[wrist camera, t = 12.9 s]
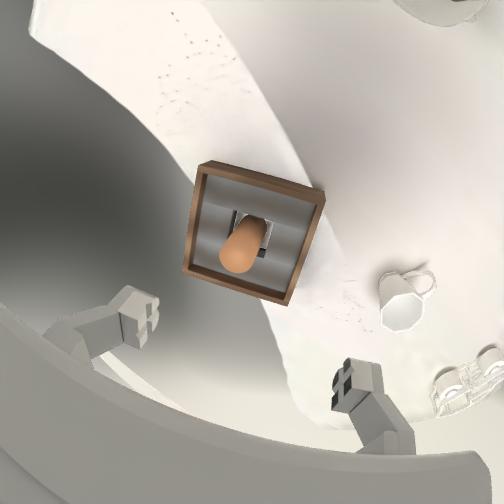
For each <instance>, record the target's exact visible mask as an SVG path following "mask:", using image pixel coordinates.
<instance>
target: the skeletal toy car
mask: <svg viewBox="0 0 504 504" xmlns="http://www.w3.org/2000/svg"><path fill="white" fill-rule="evenodd" d="M476 363H478V365H479V368H477V369H475V370H473V371H472V372H470V371H469V368H468V367H471V366H473V365H475V364H476ZM464 369H465V370H466V373H467V374H466V375H464V376H462V384H461V381H460V379H459V376H458V373H457V372H459V371H462V370H464ZM481 373H482V374H483V377H484V379H483V380H481V381H479V382H477V383H474V381H473V380H474V379H475V378H476V377H477V376H478V375H479V374H481ZM501 373H504V356H503V354H502V351H501V350H500V349H499V348H492V349H490V350H488V351H486V352H485V353H483V354H482V355H480V356H479V357H478V358H476V359H475V360H473V361H471V362H469V363H467V364H464V365H462V366H460V367H458V368H456V369H454V370H452V371H449V372H446V373H444V374H443V375H441V376H440V377H439V378H438V379H437V380H436V381H435V382H434V388H433V390H432V392H431V393H430V396H431V400H432V404H433V409H434V413H435V417H436V418H442V417H446V416H447V417H448V416H451V415H453V414H456V413H458V412H460V411H462V410H464V409H466V408H468V407H470V406H472V405H473V404H475V403H476V402H478V401H480V400H481V399H482V398H483V397H484V396H485V395H486V394H488V393H489V392H490V391H491V390H492V389H493V388H494V387H495V385H497V384H498V383H499V382H500V381H502V380H504V374H503V375H501V376H500V377H498V378H497V379H496V380H494V381H493V382H492V383H491V381H490V380H491V379H493V378H494V377H496V376H498V375H499V374H501ZM467 378H469V379H468V380H467ZM487 382H488V385H489V386H487V387H485V388H483V389H481V390H480V391H478V392H476V393H474V394H472V393H471V390H474V389H476V388H478V387H480V386H482V385H484V384H486V383H487ZM469 383H471V385H470V386H469ZM462 388H463V389H462ZM436 390H437V391H438V393H436ZM463 394H465V395H466V398H467V401H468V403H466V404H465V405H462V406H460V407H458V408H456V409H454V410H451V411H450V409H449V406H448V403H449V402H451V401H453V400H454V399H456V398H458V397H459V396H461V395H463ZM436 397H439V399H440V400H441V401H442V402H440V407H439V409H438V411H437V407H436V403H435V399H434V398H436ZM472 399H473V400H472ZM444 405H445V407H446V412H443V413H441V412H442V410H443V406H444Z"/></svg>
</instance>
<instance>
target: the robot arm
mask: <svg viewBox="0 0 504 504" xmlns="http://www.w3.org/2000/svg"><path fill="white" fill-rule="evenodd" d="M393 1H394V2H395V3H396V4H397V5H398V6H399V7H401V8H402V9H403V10H404V11H406V12H407V13H409V14H410V15H412V16H413V17H415V18H417V19H419V20H421V21H423V22H425V23H428V24H431V25H434V26H439V27H450V26H454V25H457V24H459V23H461V22H464V21H465V22H474V21H476V12H478V11H479V10H480V9H481V8H482V7H484V6H485V5H486V4H487V3H488V0H393ZM158 305H159V299H158V298H157V297H155V296H152V295H150V294H148V293H145V292H143V291H141V290H138V289H136V288H133V287H131V286H129V285H127V286H125V287H124V288H123V289H122V290H121V291H120V292H119V293H118V294H117V295H116V296H115V297H114V298H113V300H112V301H111V302H110V303H109V304H108V305H107V306H104V305H102V306H99V307H96V308H92V309H89V310H86V311H83V312H79V313H76V314H72V315H69V316H66V317H63V318H59V319H58V320H57V321H56V322H55V323H54V324H53V325H52V326H51V327H50V328H49V329H48V330H47V331H46V332H45V333H44V334H43V335H42V336H41V335H40V334H39V333H37V332H36V331H34V330H33V329H32V328H31V327H29V326H28V325H27V324H26V323H24V322H23V321H22V320H21V319H19V318H18V317H17V316H16V315H15V314H13V313H12V312H11V311H10V310H9V309H7V308H6V307H5V306H4V305H3V304H2V303H1V302H0V504H492V490H491V489H492V487H491V476H490V472H489V469H488V467H487V466H486V464H485V463H484V461H483V460H482V459H481V457H480V456H479V455H478V454H477V453H476V452H475V451H462V452H453V453H442V454H427V455H416V446H415V436H414V431H413V429H412V428H411V427H410V425H409V424H408V422H407V421H406V420H405V418H404V417H403V415H402V414H401V413H400V411H399V410H398V409H397V407H396V406H395V404H394V403H393V402H392V400H391V399H390V398H389V396H388V395H386V394H384V385H383V377H382V370H381V365H380V364H377V363H372V362H367V361H362V360H358V359H353V358H347V359H346V360H345V361H344V363H343V368H340V369H339V370H338V371H337V373H336V374H335V377H334V379H333V384H332V390H333V391H334V393H335V394H334V396H333V397H332V406H331V410H332V411H337V412H342V413H348V414H349V417H350V419H351V421H352V423H353V425H354V427H355V429H356V431H357V433H358V435H359V437H360V439H361V441H362V443H363V446H364V447H363V448H361V449H360V450H359V451H357V452H356V453H348V452H339V451H330V450H323V449H316V448H310V447H304V446H299V445H294V444H289V443H284V442H279V441H274V440H270V439H266V438H262V437H258V436H254V435H250V434H246V433H242V432H239V431H236V430H233V429H229V428H226V427H223V426H220V425H216V424H213V423H210V422H207V421H204V420H202V419H199V418H196V417H193V416H191V415H188V414H185V413H183V412H180V411H178V410H175V409H173V408H170V407H168V406H166V405H163V404H161V403H159V402H156V401H154V400H152V399H150V398H147V397H145V396H143V395H141V394H139V393H137V392H135V391H132V390H131V389H128V388H127V387H125V386H122V385H120V384H119V383H117V382H115V381H113V380H111V379H109V378H108V377H106V376H104V375H102V374H100V373H99V372H97V371H95V370H94V367H93V365H92V362H91V359H92V358H94V357H96V356H99V355H101V354H103V353H105V352H107V351H109V350H111V349H113V348H115V347H117V346H119V345H121V344H123V342H124V343H126V344H128V345H131V346H133V347H135V348H138V349H141V348H142V347H143V345H144V344H145V342H146V341H147V334H149V333H152V332H153V330H154V329H155V327H156V325H157V323H158V319H159V312H158V310H157V309H156V308H157V307H158Z"/></svg>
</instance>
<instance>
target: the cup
mask: <svg viewBox="0 0 504 504" xmlns="http://www.w3.org/2000/svg"><path fill="white" fill-rule="evenodd" d="M418 275H429V276H431V277H432V278H433V284H432V286H431V288H430V289H429V290H428V291H426V292H423V293H421V294H418V292H417V291H416V290H415V289H414V288H413V286H412V285H411V284H409V283H408V282H407V281H406V280H405V279H406V278H408V277H411V276H418ZM435 289H436V280H435V277H434V275H433V273H432V272H430V271H429V270H417V271H411V272H407V273H404V274H402V275H400V274H399V273H398V272H396V271H393V272H388V273H385V274H384V275H383V276H382V278H381V279H380V280H379V305H380V324H381V326H382V327H384V328H385V329H387V330H388V331H390V332H392V333H398V332H403V331H408V330H411V329H412V328H413V327H414V326H415V325H416V324H417V323H418V322H419V321H420V320H421V319H422V318H423V317H424V310H425V301H424V299H426V298H428V297H429V296H431V295H432V294H433V293H434V291H435Z"/></svg>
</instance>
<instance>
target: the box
mask: <svg viewBox="0 0 504 504" xmlns="http://www.w3.org/2000/svg"><path fill="white" fill-rule="evenodd" d="M325 202H326V199H325V194H324V191H321V190H318V189H315V188H312V187H308V186H305V185H302V184H299V183H295V182H292V181H289V180H285V179H282V178H278V177H275V176H271V175H268V174H264V173H260V172H257V171H253V170H249V169H245V168H242V167H238V166H234V165H230V164H226V163H222V162H217V161H213V160H211V161H208V162H205V163H203V164H200V165H198V169H197V175H196V181H195V187H194V192H193V199H192V205H191V211H190V218H189V225H188V232H187V239H186V246H185V254H184V262H183V270H182V273H185V274H187V275H190V276H193V277H196V278H199V279H202V280H205V281H208V282H211V283H214V284H217V285H220V286H223V287H226V288H229V289H232V290H235V291H239V292H242V293H245V294H248V295H251V296H254V297H257V298H261V299H264V300H267V301H270V302H274V303H277V304H280V305H284V306H288V304H289V301H290V299H291V296H292V294H293V291H294V288H295V286H296V283H297V280H298V278H299V275H300V273H301V270H302V267H303V264H304V262H305V259H306V256H307V254H308V251H309V248H310V245H311V242H312V240H313V237H314V234H315V231H316V228H317V225H318V222H319V219H320V217H321V214H322V211H323V208H324V205H325ZM237 211H239V212H242V213H246V214H249V215H253V216H256V217H259V218H263V219H266V220H270V221H273V222H274V225H273V229H272V232H271V236H270V239H269V242H268V246H267V249H264V248H259V251H258V253H257V255H256V258H255V260H254V262H253V265H252V267H251V268H250V269H249V270H248V271H246V272H244V273H233V272H230V271H228V270H227V269H226V268H225V267H224V266H223V265H222V264H221V262H220V258H219V252H220V249H221V248H222V246H223V245H224V243H225V242H226V241H227V239H228V238H229V237H230V235H231V234H232V232H233V228H234V224H235V219H236V215H237Z"/></svg>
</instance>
